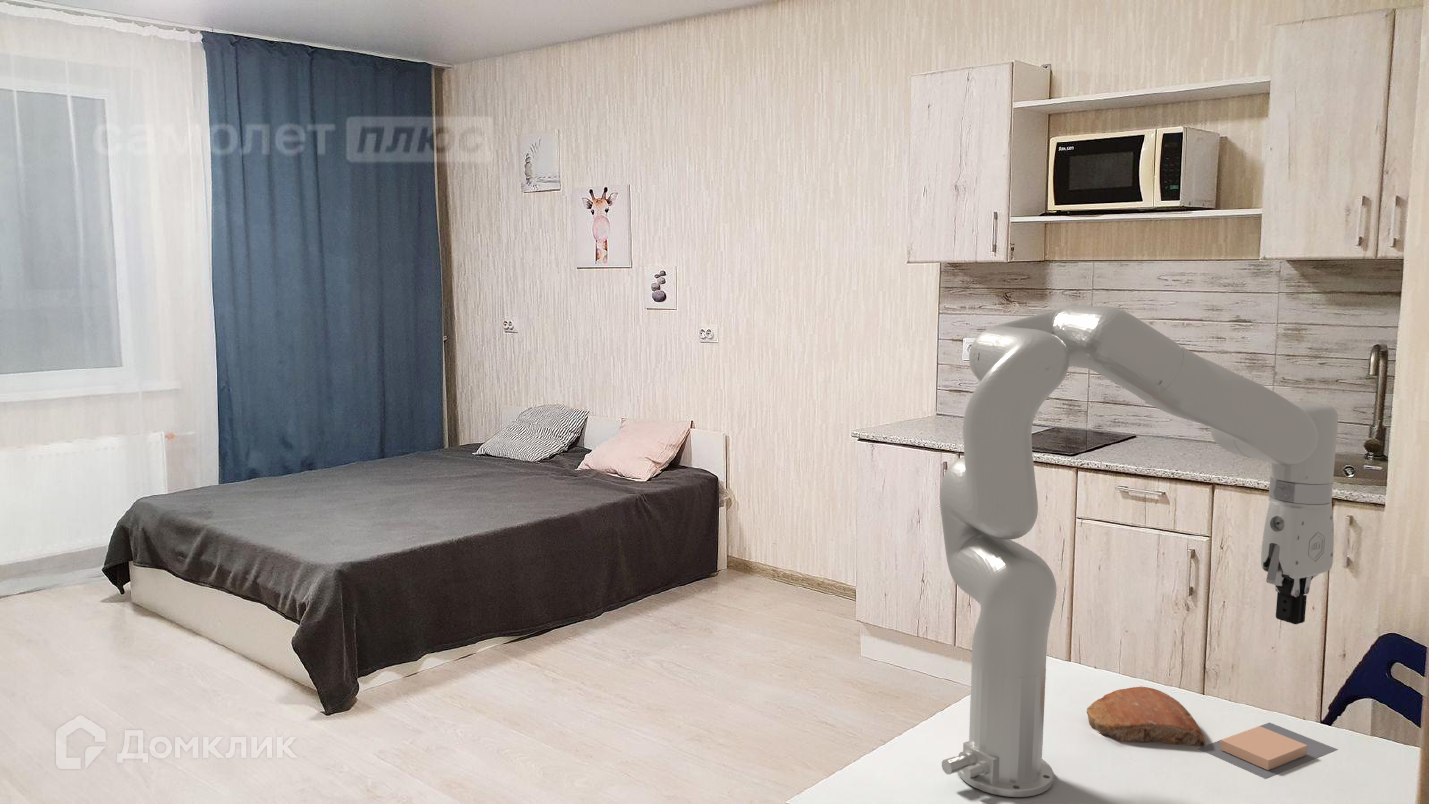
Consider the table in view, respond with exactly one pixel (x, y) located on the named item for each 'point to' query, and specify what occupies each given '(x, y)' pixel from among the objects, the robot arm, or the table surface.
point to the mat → (1313, 752)
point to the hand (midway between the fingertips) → (1289, 620)
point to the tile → (1263, 747)
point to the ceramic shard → (1144, 717)
